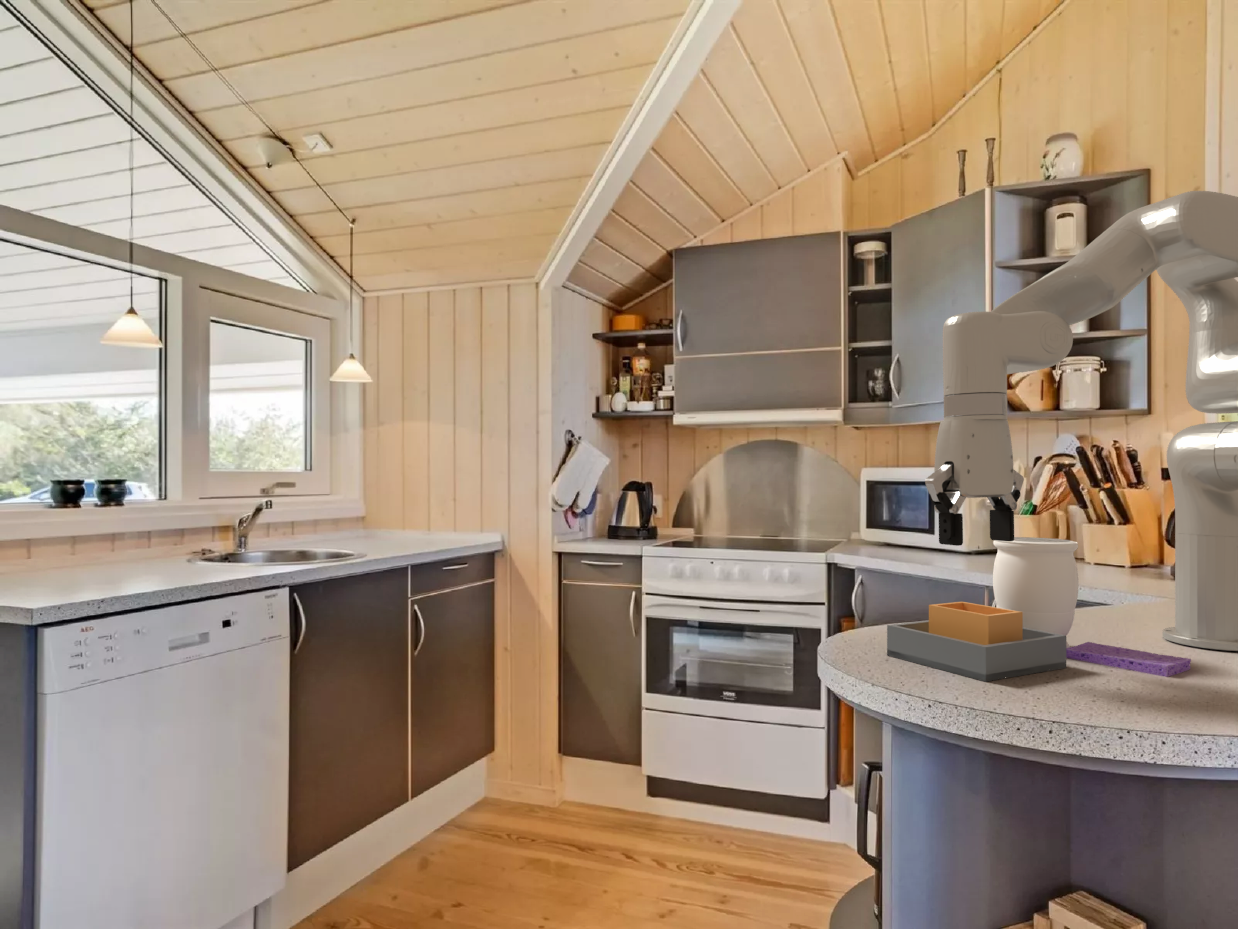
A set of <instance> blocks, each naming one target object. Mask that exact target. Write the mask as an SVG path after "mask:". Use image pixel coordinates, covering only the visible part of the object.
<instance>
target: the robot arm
mask: <svg viewBox="0 0 1238 929" xmlns="http://www.w3.org/2000/svg"><path fill="white" fill-rule="evenodd" d="M1155 271H1156V272H1157V274H1158V276H1159V277H1160V279H1161V280H1162V282H1164V284H1165V285H1166V286H1168V288H1170V289H1171V290H1172V292H1173V293H1174V294H1175V295H1176V297H1178V299H1179V301H1181V303H1182V305H1183V307H1184V309H1185V310H1186V311H1185V312H1186V313H1187V316H1188V321H1189V322H1188V323H1189V328H1188V329H1189V332H1188V333H1189V335H1188V346H1187V348H1188V349H1187V358H1186V360H1187V361H1186V369H1185V371H1186V372H1185V374H1186V375H1185V397H1186V400H1187V402H1188V404H1189V406H1191V407H1192V408H1193V409H1194V410H1196V411H1198V412H1200V413H1205V414H1217V415H1218V414H1238V280H1237V279H1236V278H1238V196H1235V195H1231V194H1229V193H1228V194H1226V193H1222V192H1218V191H1217V192H1216V191H1210V190H1189V191H1186V192H1182V193H1180V194H1179V193H1178V194H1177V195H1174V196H1171V197H1168V198H1164V199H1162V200H1159V201H1157V202H1154V203H1153V202H1152V203H1150V204H1147V205H1145V206H1141V207H1138V208H1136V209H1134V210H1131V211H1130V212H1127V213H1126V214H1125V215H1123V216H1121V217H1120V218H1119V219H1117V220H1116V221H1115V222H1114V223H1113V224H1112V225H1110V226H1109V227H1108V228H1106V230H1104V231H1103V232H1102V233H1101V234H1100V235H1098V236H1097V237H1096V238H1095V239H1094V240H1092V241H1091V242H1090V243H1088V244H1087V246H1086V247H1084V248H1083V249H1082V250H1080V251H1079V252H1078V253H1077V254H1076V255H1074V257H1072V258H1071V259H1069V260H1068V261H1067V262H1066V263H1064V264H1062V265H1061V266H1059V267H1057V268H1055V269H1053V270H1052V271H1050V272H1048V273H1047V274H1045V275H1044V276H1042V277H1041V278H1039V279H1037V280H1036V281H1034V282H1033V283H1031V284H1029V285H1027V286H1026V287H1025V288H1022V290H1020V291H1018V292H1016V293H1015V294H1013V295H1011V296H1010V297H1008V298H1007V299H1006V300H1003V302H1001V303H999V304H998V305H997V306H996V307H994V308H993V309H992V310H991V311H971V312H962V313H958V314H954V315H953V316H950V317H948V318H946V320H945V321H944V323H943V326H942V327H943V328H942V371H943V372H942V374H943V376H942V377H943V381H942V382H943V420H940V423H939V426H938V427H939V428H938V430H937V437H936V444H935V454H934V470H933V473H931V474H930V475H928V477H926V478H925V480H924V483H925V486H926V489H927V492H928V494H929V499H930V501H931V503H932V504H933V506H934V511H935V512H936V513H937V514H938V543H939V544H940V545H947V546H955V547H957V546H962V545H963V544H964V528H963V527H964V524H963V522H964V521H963V518H964V517H963V513H959V511H960V509H961V508H962V506H963V504H964V502H965V501H966V498H968V499H969V498H970V499H971V498H972V499H975V498H978V499H979V498H987V499H988V502H990V504H991V506H992V508H993V509H989V538H990V540H991V541H994V540H998V541H1013V540H1014V537H1015V511H1016V510H1017V508H1018V503H1017V502H1018V501H1019V499H1020V497H1021V490H1022V487H1023V484H1024V481H1025V479H1024V476H1023V475H1022V474H1020V473H1019V472H1018V471H1017V470H1016V469H1015V468H1014V456H1013V454H1014V453H1013V445H1012V438H1011V430H1010V426H1009V420H1008V375H1011V374H1013V375H1014V374H1019V373H1027V372H1033V371H1040V370H1044V369H1048V368H1052V367H1053V366H1056V365H1058V364H1059V363H1061V362H1062V361H1063V360H1064V359H1065V358H1066V357H1067V356H1068V355H1069V353H1070V351H1071V350H1072V347H1073V343H1074V342H1073V341H1074V334H1073V331H1072V328H1071V326H1072V325H1075V324H1079V323H1081V322H1085V321H1086V320H1089V319H1091V318H1094V317H1096V316H1098V315H1100V314H1103V313H1105V312H1106V311H1109V310H1111V309H1112V308H1114V307H1115V306H1116V305H1118V304H1119V303H1120V302H1121V301H1122V300H1124V298H1125V297H1126V296H1127V295H1129V294H1130V293H1131V292H1132V291H1133V290H1134V289H1136V287H1137V286H1139V285H1140V284H1141V283H1142V282H1143V281H1145V280H1146V279H1147V278H1149V276H1150V275H1152V274H1153V273H1154V272H1155ZM1166 464H1167V468H1168V473H1169V476H1170V481H1171V487H1172V491H1173V499H1174V517H1175V518H1174V520H1175V529H1174V534H1175V535H1174V537H1175V538H1174V539H1175V540H1174V550H1175V551H1174V552H1175V553H1174V556H1175V557H1174V558H1175V560H1174V565H1175V566H1174V567H1175V568H1174V574H1175V575H1174V576H1175V577H1174V579H1175V580H1174V581H1175V582H1174V584H1175V585H1174V594H1175V596H1174V597H1175V598H1174V619H1175V620H1174V623H1175V625H1174V626H1171V627H1169V626H1168V627H1165V628H1163V629H1162V638H1164V639H1165V640H1167V641H1169V642H1173V643H1175V644H1180V645H1185V646H1190V647H1194V648H1202V649H1210V650H1218V651H1226V652H1227V651H1231V652H1238V420H1237V421H1219V422H1206V423H1205V422H1204V423H1199V424H1195V425H1191V426H1188V427H1185V428H1183V429H1181V430H1179V432H1177V433H1176V434H1175V435H1174V436H1173V437H1172V438H1171V439H1170V441H1169V444H1168V445H1167V449H1166ZM951 499H952V500H951Z"/></svg>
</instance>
